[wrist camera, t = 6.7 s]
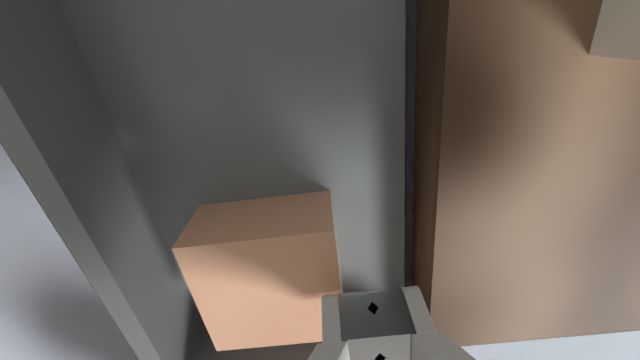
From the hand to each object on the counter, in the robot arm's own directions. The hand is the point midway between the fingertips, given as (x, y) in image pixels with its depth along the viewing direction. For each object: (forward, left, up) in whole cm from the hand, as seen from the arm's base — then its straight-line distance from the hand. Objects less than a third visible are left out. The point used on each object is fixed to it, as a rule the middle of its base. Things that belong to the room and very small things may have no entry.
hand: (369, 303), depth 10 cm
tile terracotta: (+3, 0, -3) cm, 5 cm away
